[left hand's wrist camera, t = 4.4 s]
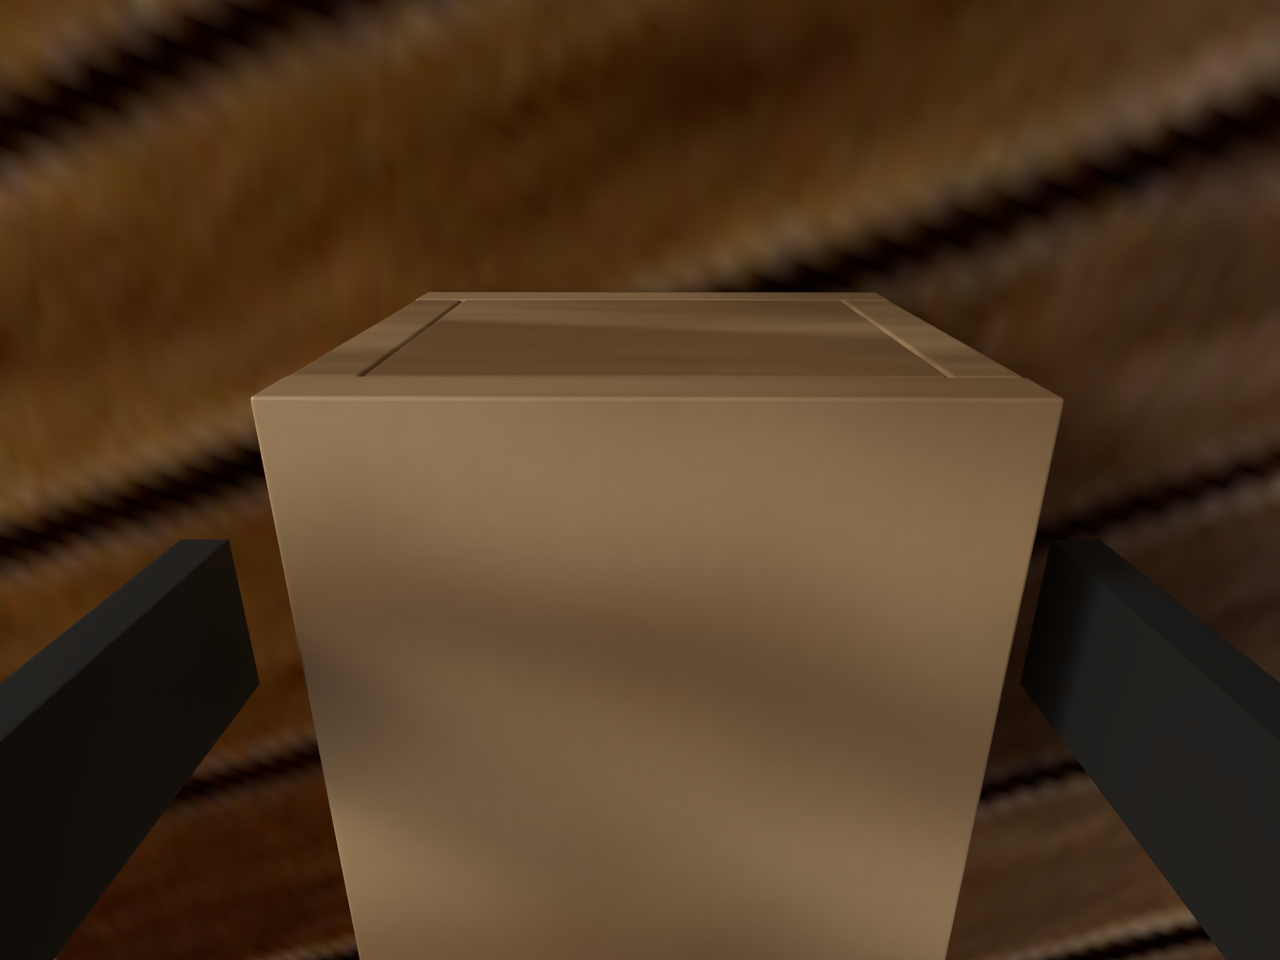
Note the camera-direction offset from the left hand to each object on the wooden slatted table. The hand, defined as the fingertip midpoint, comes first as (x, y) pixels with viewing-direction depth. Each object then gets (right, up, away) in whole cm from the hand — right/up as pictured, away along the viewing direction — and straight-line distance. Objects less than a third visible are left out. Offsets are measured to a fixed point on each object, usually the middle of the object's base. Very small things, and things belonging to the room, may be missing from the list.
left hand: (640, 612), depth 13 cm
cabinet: (0, -4, +9) cm, 10 cm away
